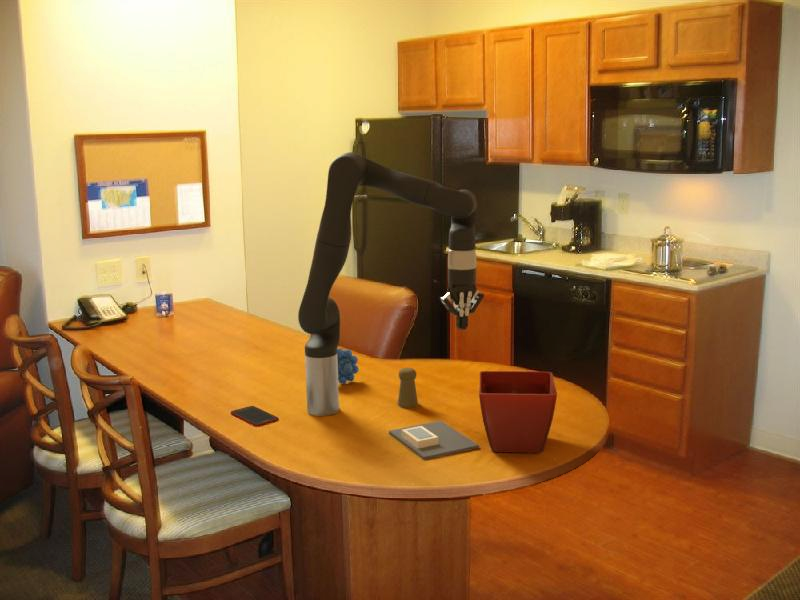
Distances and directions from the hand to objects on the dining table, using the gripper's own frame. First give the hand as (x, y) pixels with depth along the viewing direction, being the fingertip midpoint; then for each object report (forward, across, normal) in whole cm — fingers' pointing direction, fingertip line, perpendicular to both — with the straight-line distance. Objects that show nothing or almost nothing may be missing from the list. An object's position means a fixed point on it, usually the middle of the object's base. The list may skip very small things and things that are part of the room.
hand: (462, 329), depth 231 cm
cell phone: (+28, +49, -33) cm, 65 cm away
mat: (+27, +13, +7) cm, 31 cm away
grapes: (+27, +15, -47) cm, 56 cm away
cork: (+27, +6, -21) cm, 35 cm away
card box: (+25, +14, +7) cm, 30 cm away
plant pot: (+27, -5, +19) cm, 34 cm away
